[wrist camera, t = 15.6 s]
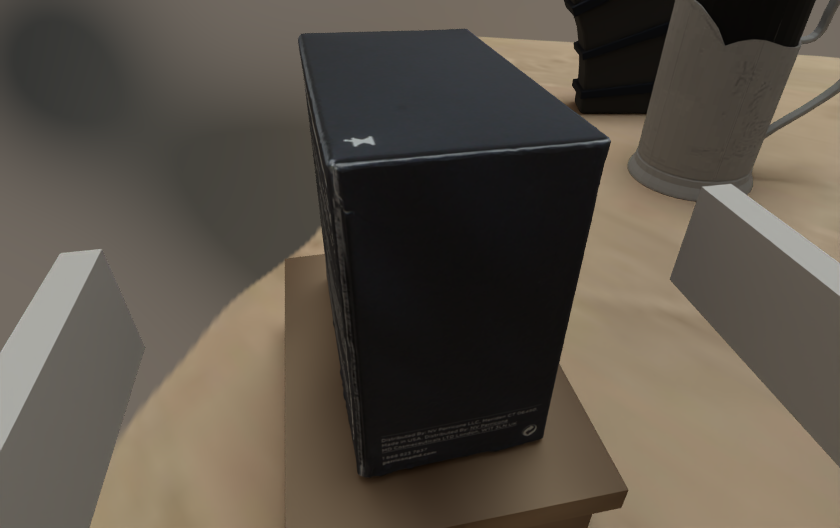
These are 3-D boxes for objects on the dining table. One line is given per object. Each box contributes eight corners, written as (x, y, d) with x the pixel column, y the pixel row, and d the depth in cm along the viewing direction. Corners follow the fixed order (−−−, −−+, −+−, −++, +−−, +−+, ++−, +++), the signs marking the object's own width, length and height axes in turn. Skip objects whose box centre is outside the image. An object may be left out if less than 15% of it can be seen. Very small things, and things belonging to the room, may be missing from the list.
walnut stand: (483, 295, 29) (487, 234, 27) (602, 554, 18) (628, 489, 16) (297, 321, 28) (284, 258, 25) (305, 620, 17) (285, 560, 14)
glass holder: (614, 148, 44) (662, -64, 35) (790, 149, 44) (883, -65, 35) (647, 201, 37) (716, -46, 28) (856, 203, 37) (994, -47, 28)
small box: (559, 443, 17) (634, 133, 11) (357, 488, 16) (313, 170, 10) (461, 255, 26) (473, 18, 19) (324, 276, 24) (287, 30, 18)
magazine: (738, 98, 49) (714, -78, 41) (595, 155, 52) (547, 4, 44) (721, 84, 52) (695, -82, 44) (586, 139, 55) (540, -5, 48)
